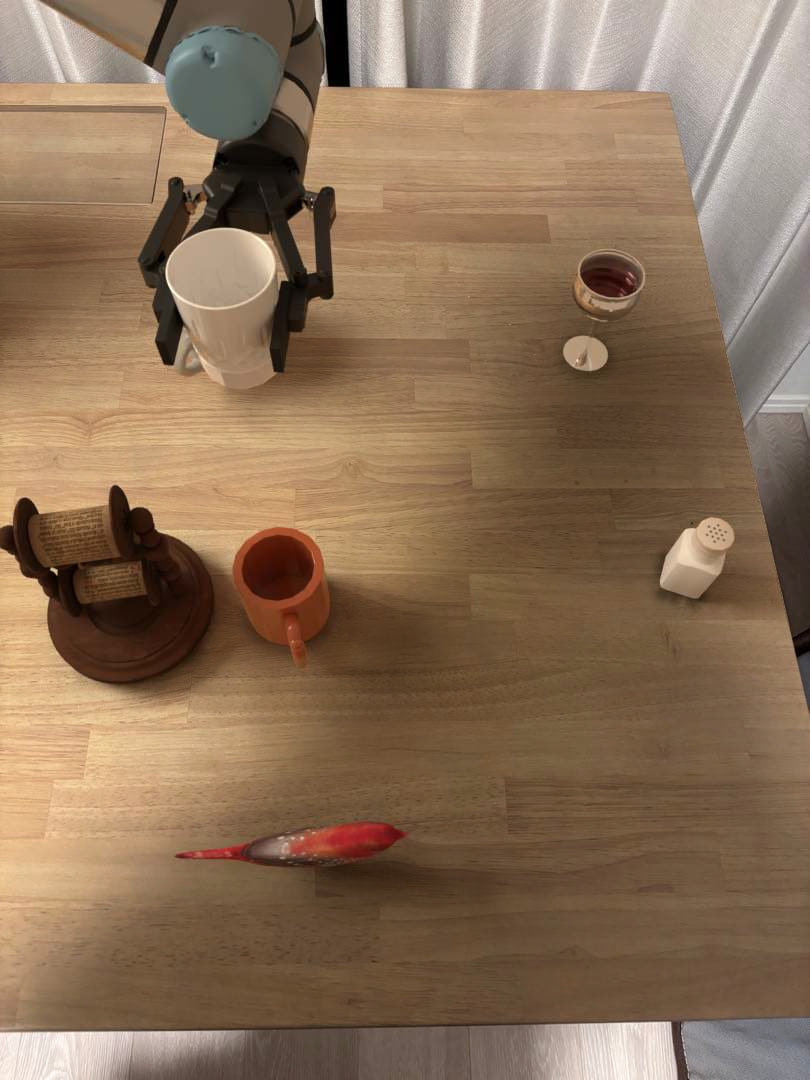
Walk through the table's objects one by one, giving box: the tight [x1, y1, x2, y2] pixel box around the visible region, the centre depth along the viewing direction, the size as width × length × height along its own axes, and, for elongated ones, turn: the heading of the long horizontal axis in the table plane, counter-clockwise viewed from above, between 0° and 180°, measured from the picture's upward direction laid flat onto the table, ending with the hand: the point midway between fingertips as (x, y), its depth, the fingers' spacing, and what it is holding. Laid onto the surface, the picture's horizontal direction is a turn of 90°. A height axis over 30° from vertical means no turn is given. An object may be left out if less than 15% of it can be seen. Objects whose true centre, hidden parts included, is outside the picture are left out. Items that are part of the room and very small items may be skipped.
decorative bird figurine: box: [173, 821, 410, 869], centre depth 63 cm, size 3×18×10 cm, turn 95°
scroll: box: [0, 484, 216, 686], centre depth 68 cm, size 15×15×20 cm
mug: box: [231, 526, 331, 669], centre depth 73 cm, size 11×8×9 cm
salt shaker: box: [659, 517, 735, 600], centre depth 75 cm, size 4×4×10 cm
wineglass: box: [562, 248, 646, 372], centre depth 86 cm, size 7×7×12 cm
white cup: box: [166, 228, 280, 390], centre depth 64 cm, size 8×8×10 cm
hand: (220, 357), depth 60 cm, fingers closed on white cup, 8 cm apart
